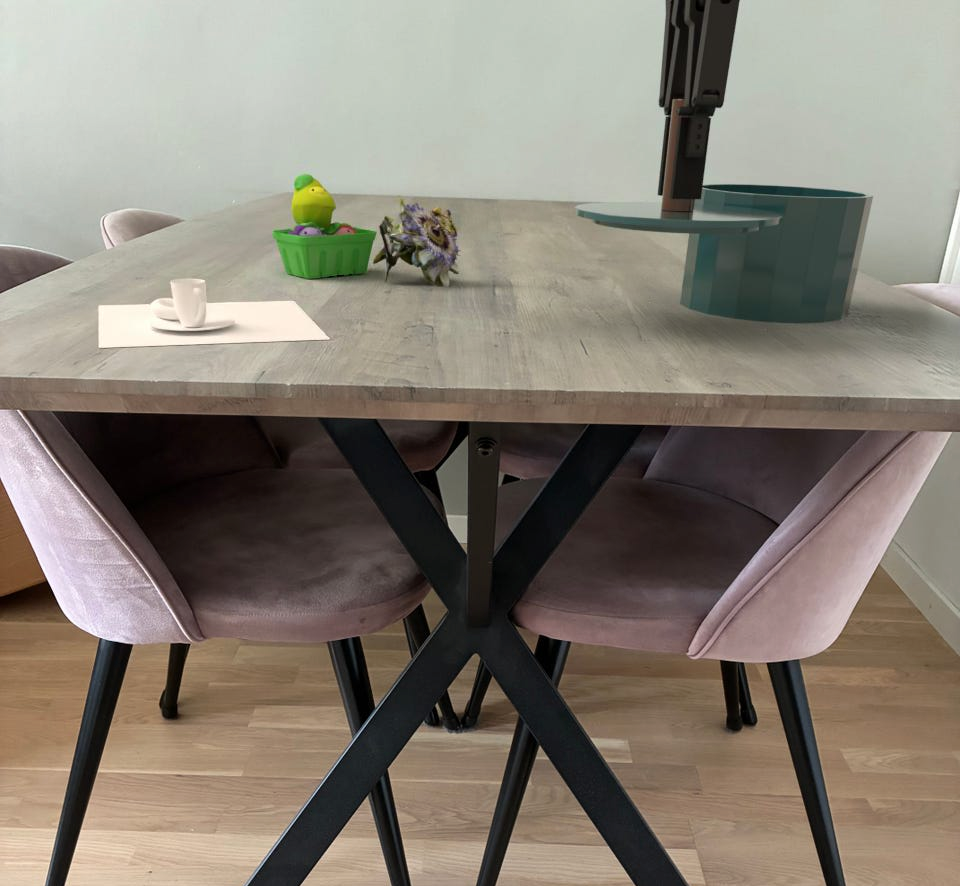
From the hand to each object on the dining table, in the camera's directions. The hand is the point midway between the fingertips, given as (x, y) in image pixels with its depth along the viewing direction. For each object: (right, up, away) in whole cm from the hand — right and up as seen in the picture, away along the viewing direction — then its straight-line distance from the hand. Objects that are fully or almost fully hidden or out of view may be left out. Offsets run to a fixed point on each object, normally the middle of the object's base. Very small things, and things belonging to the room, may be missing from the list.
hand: (678, 196), depth 88 cm
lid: (0, -2, +1) cm, 2 cm away
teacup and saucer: (-45, -10, +5) cm, 46 cm away
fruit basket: (-38, +6, +34) cm, 51 cm away
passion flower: (-26, +2, +28) cm, 39 cm away
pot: (+13, -4, +20) cm, 24 cm away
